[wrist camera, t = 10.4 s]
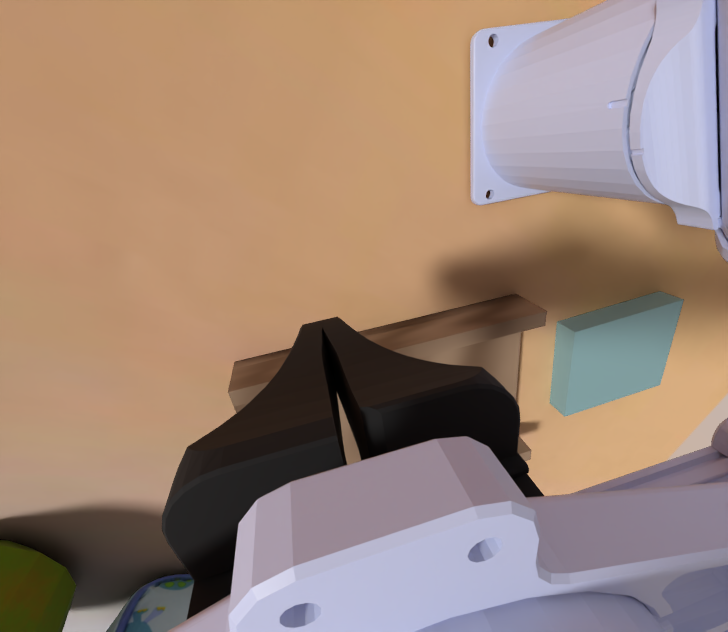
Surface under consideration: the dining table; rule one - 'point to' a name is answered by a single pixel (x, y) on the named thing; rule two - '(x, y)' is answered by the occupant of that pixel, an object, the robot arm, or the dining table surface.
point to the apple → (32, 590)
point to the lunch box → (156, 606)
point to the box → (425, 350)
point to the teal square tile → (612, 351)
